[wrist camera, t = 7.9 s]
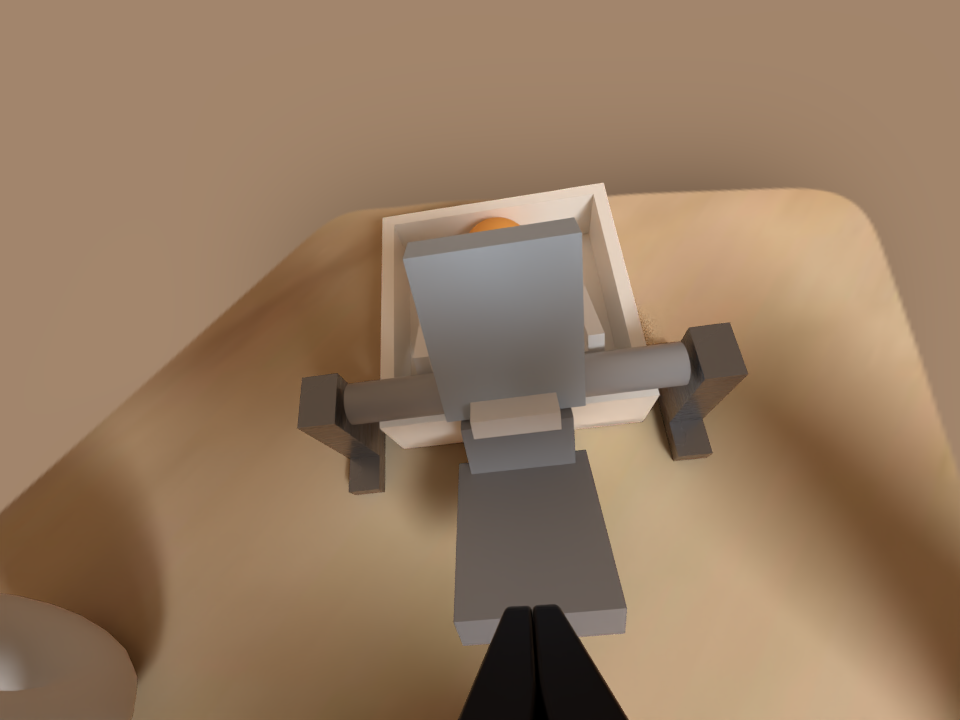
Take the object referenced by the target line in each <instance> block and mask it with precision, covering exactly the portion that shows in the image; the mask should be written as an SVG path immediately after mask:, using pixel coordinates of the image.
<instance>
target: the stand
mask: <svg viewBox="0 0 960 720" xmlns="http://www.w3.org/2000/svg"><path fill="white" fill-rule="evenodd" d="M681 342H682V343H683V344H684V346H685V348H686V350H687V352H688V356H689V360H690V368H691V374H690V380H689V383H688V384H687V385H683V386H675V387H666V388H658V390H659V394H660V396H659V397H658V403H659V407H660V411H661V414H662V418H663V422H664V426H665V430H666V434H667V437H668V441H669V445H670V449H671V453H672V456H673V460H674V461H678V460H688V459H697V458H707V457H708V456H709V455H711V454H712V449H711V446H710V443H709V439H708V436H707V433H706V429H705V426H704V423H703V418H704V417H705V416H706V415H707V414H708V413H709V412H710V411H711V410H712V409H713V408H714V407H715V406H716V405H717V404H718V403H719V402H720V401H721V400H722V399H723V398H724V397H725V396H726V395H727V394H728V393H729V392H730V391H732V390H733V389H734V388H735V387H736V386H737V385H738V384H739V383H740V382H741V381H742V380H743V379H744V378H745V377H746V376H747V375H748V372H747V369H746V366H745V364H744V361H743V358H742V355H741V353H740V350H739V347H738V344H737V342H736V339H735V336H734V333H733V330H732V328H731V325H730V322H729V323H721V324H713V325H706V326H698V327H690V328H688V330H687V332H686V334H685V335H684V337H683V339H682V340H681ZM347 385H348V383H347V382H346V381H345V380H344V379H343V378H342V377H341V376H340V375H339V374H338V373H336V374H328V375H320V376H313V377H305V378H302V385H301V395H300V406H299V417H298V427H297V428H298V429H299V430H301V431H303V432H305V433H306V434H308V435H310V436H312V437H313V438H315V439H317V440H318V441H320V442H322V443H324V444H325V445H327V446H329V447H330V448H332V449H334V450H336V451H337V452H339V453H341V454H343V455H344V456H346V457H348V458H349V459H350V476H349V492H350V493H352V494H354V495H359V494H369V493H378V492H385V433H384V432H383V431H382V430H381V429H380V422H374V423H365V424H357V425H352V424H351V423H350V422H349V421H348V419H347V416H346V413H345V408H344V391H345V388H346V386H347Z"/></svg>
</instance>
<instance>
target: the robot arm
mask: <svg viewBox="0 0 960 720" xmlns="http://www.w3.org/2000/svg"><path fill="white" fill-rule="evenodd" d="M458 720H629V719H628V718H627V716H626V714H625V713H624V711H623V710H622V708H621V706H620V705H619V703H618V701H617V700H616V698H615V696H614V695H613V693H612V691H611V690H610V688H609V687H608V685H607V683H606V682H605V680H604V678H603V677H602V675H601V673H600V672H599V670H598V668H597V667H596V665H595V664H594V662H593V660H592V659H591V657H590V655H589V654H588V652H587V650H586V649H585V647H584V645H583V644H582V642H581V641H580V639H579V637H578V636H577V634H576V632H575V631H574V629H573V627H572V626H571V624H570V622H569V621H568V619H567V618H566V616H565V614H564V613H563V611H562V609H561V608H560V607H559V606H558V605H556V604H547V605H535V606H534V607H533V614H532V609H531V607H529V606H510V607H507V608H506V609H505V610H504V612H503V614H502V617H501V619H500V621H499V624H498V626H497V628H496V631H495V633H494V636H493V638H492V640H491V643H490V645H489V647H488V650H487V652H486V654H485V657H484V659H483V662H482V664H481V666H480V669H479V671H478V673H477V676H476V678H475V680H474V683H473V685H472V688H471V690H470V692H469V695H468V697H467V699H466V702H465V704H464V706H463V709H462V711H461V714H460V716H459V718H458Z"/></svg>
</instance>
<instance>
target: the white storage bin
mask: <svg viewBox="0 0 960 720" xmlns="http://www.w3.org/2000/svg"><path fill="white" fill-rule="evenodd" d="M494 217H502V218H507V219H510V220H512V221H514V222H516V223H518V224H519V225H527V224H533V223H540V222H546V221H553V220H559V219H566V218H573V217H574V218H575V220H576V222H577V224H578V226H579V228H580V230H581V232H582V259H583V283H584V285H585V287H586V290H587V292H588V295H589V297H590V299H591V302H592V304H593V307H594V309H595V311H596V314H597V316H598V319H599V321H600V323H601V326H602V328H603V331H604V333H605V351H608V350H616V349H624V348H632V347H640V346H647V345H646V341H645V337H644V334H643V330H642V326H641V322H640V319H639V315H638V311H637V307H636V304H635V300H634V296H633V292H632V288H631V285H630V281H629V277H628V273H627V270H626V266H625V262H624V258H623V255H622V251H621V247H620V243H619V239H618V236H617V232H616V228H615V224H614V221H613V217H612V213H611V209H610V206H609V202H608V198H607V194H606V191H605V187H604V183H599V184H593V185H587V186H580V187H574V188H567V189H561V190H555V191H548V192H543V193H536V194H529V195H523V196H517V197H510V198H504V199H498V200H491V201H485V202H479V203H472V204H466V205H460V206H453V207H447V208H441V209H434V210H428V211H421V212H415V213H409V214H402V215H396V216H390V217H383V222H382V294H381V365H380V380H381V379H389V378H396V377H404V376H412V375H418V374H417V371H416V368H415V364H414V361H413V354H414V349H415V344H416V338H417V333H418V327H419V322H420V321H419V318H418V314H417V310H416V307H415V303H414V299H413V295H412V292H411V288H410V284H409V281H408V277H407V273H406V270H405V266H404V262H403V256H404V253H405V250H406V246H407V243H408V242H415V241H421V240H428V239H435V238H441V237H448V236H454V235H461V234H467V233H469V232H470V231H471V230H472V229H473V227H475V226H476V225H477V224H478V223H480V222H482V221H484V220H486V219H489V218H494ZM659 396H660V394H659V390H658V389H650V390H641V391H633V392H624V393H616V394H608V395H599V396H591V397H586V406H580V407H572V408H571V409H572V413H573V417H574V430H575V429H584V428H592V427H601V426H610V425H619V424H627V423H636V422H643V420H644V419H645V417H646V416H647V414H648V413H649V411H650V410H651V408H652V406H653V405H654V403H655V402H656V400H657V399H658V397H659ZM380 429H381V430H382V431H383V432H384V433H386V434H387V435H388V436H389V437H390V438H391V439H393V440H394V441H395V442H396V443H397V444H398V445H399V446H401V447H402V448H403V449H408V448H417V447H426V446H435V445H443V444H452V443H461V442H463V438H462V434H461V421H453V422H447V421H446V417H445V414H441V415H432V416H424V417H416V418H407V419H399V420H391V421H382V422H380Z"/></svg>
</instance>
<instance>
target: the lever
mask: <svg viewBox="0 0 960 720" xmlns="http://www.w3.org/2000/svg"><path fill="white" fill-rule="evenodd" d="M403 262H404V266H405V270H406V273H407V277H408V281H409V284H410V288H411V292H412V295H413V299H414V303H415V307H416V310H417V314H418V318H419V321H420V322H419V327H418V333H417V338H416V344H415V349H414V354H413V361H414V364H415V368H416V371H417V374H418V375H412V376H404V377H396V378H389V379H381V380H373V381H365V382H357V383H349V384H348V385H347V386H346V388H345V391H344V408H345V413H346V416H347V419H348V421H349V422H350V423H351V424H352V425H357V424H365V423H374V422H382V421H391V420H399V419H407V418H416V417H424V416H432V415H441V414H445V417H446V421H447V422H453V421H461V434H462V438H463V442H464V446H465V450H466V454H467V458H468V462H469V463H461V464H459V485H458V514H457V542H456V570H455V598H454V624H455V627H456V629H457V632H458V634H459V637H460V639H461V642H462V644H463V646H468V645H481V644H490V643H491V640H492V638H493V636H494V633H495V631H496V628H497V626H498V624H499V621H500V619H501V617H502V614H503V612H504V610H505V609H506V608H507V607H510V606H529V607H531V609H532V614H533V607H534V606H535V605H547V604H556V605H558V606H559V607H560V608H561V609H562V611H563V613H564V614H565V616H566V618H567V619H568V621H569V622H570V624H571V626H572V627H573V629H574V631H575V632H576V634H577V636H578V637H585V636H598V635H611V634H624V633H625V627H626V614H627V607H626V603H625V599H624V595H623V591H622V587H621V583H620V580H619V576H618V572H617V568H616V564H615V560H614V557H613V553H612V549H611V545H610V541H609V537H608V533H607V530H606V526H605V522H604V518H603V514H602V510H601V506H600V503H599V499H598V495H597V491H596V487H595V483H594V479H593V476H592V472H591V468H590V464H589V460H588V456H587V452H586V450H579V451H575V438H574V417H573V413H572V409H571V408H572V407H580V406H586V397H591V396H599V395H608V394H616V393H624V392H633V391H641V390H650V389H658V388H666V387H675V386H683V385H687V384H688V383H689V380H690V374H691V368H690V360H689V356H688V352H687V350H686V348H685V346H684V344H683V343H682V342H671V343H663V344H655V345H647V346H640V347H632V348H624V349H616V350H608V351H605V333H604V331H603V328H602V326H601V323H600V321H599V319H598V316H597V314H596V311H595V309H594V307H593V304H592V302H591V299H590V297H589V295H588V292H587V290H586V287H585V285H584V283H583V259H582V232H581V230H580V228H579V226H578V224H577V222H576V220H575V218H574V217H573V218H566V219H559V220H553V221H546V222H540V223H533V224H527V225H520V226H513V227H507V228H500V229H494V230H487V231H481V232H474V233H467V234H461V235H454V236H448V237H441V238H435V239H428V240H421V241H415V242H408V243H407V246H406V250H405V253H404V256H403Z"/></svg>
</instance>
